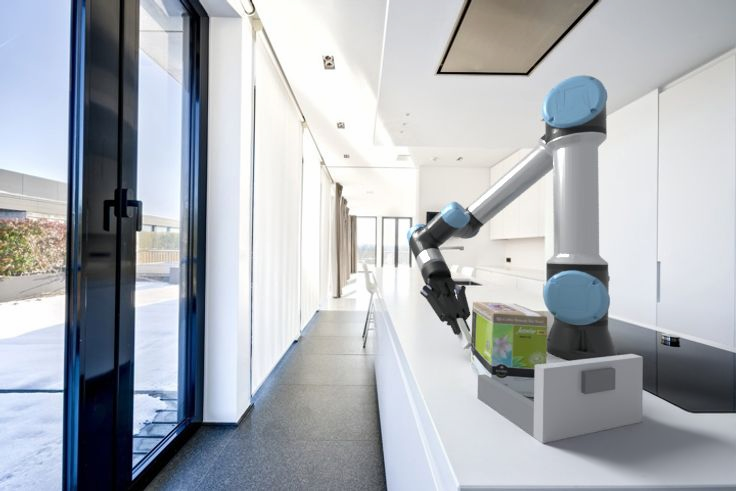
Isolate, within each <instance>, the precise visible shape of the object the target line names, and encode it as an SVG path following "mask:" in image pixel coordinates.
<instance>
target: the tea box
mask: <svg viewBox="0 0 736 491" xmlns="http://www.w3.org/2000/svg"><path fill="white" fill-rule="evenodd" d="M471 314H472V316H471V337H472V339H471V347H470V366H471V367H472V369H473V370H474V372H476V374H477V376H478V375H484V374H485V375H487V376H489V377H491V378H492V379H494V380H496V381H498V382H500V383H501V384H503V385H505V386H507V387H508V388H510V389H512V390H514V391H515V392H517V393H519V394H521V395H523V396H524V397H526V398H534V376H535V365H537V364H546V363H547V352H548V351H547V338H548V315H546V314H544V313H540V312H538V311H535V310H532V309H530V308H527V307H525V306H522V305H519V304H517V303H509V302H507V303H506V302H504V303H503V302H489V301H488V302H487V301H472V313H471Z"/></svg>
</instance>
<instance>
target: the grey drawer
mask: <svg viewBox="0 0 736 491" xmlns="http://www.w3.org/2000/svg"><path fill="white" fill-rule="evenodd" d="M643 362H644V357H643V356H641V355H638V354H635V353H627V354H619V355H618V354H617V356H608V357H599V358H590V359H581V360H566V361H558V362H549V363H547V362H546V364H537V365H535V376H534V397H533V400H531V399H529V397H524V396H523V395H521V394H519V393H517V392H515V391H514V390H512V389H510V388H508V387H507V386H505V385H503V384H501V383H500V382H498V381H496V380H494V379H492V378H491V377H489V376H487V375H485V374H484V375H478V374H477V400H480V401H481V402H483V404H485V405H487V406H488V407H490V408H491V409H492V410H494V411H495V412H497V413H499V415H501V416H503V417H504V418H506V419H507V420H508V421H510V422H512V423H513V424H514V426H515V425H516V426H517V427H518V428H520V429H521V430H523V431H524V432H525V433H527V434H528V435H530V436H531V437H532V438H534V439H535V440H537V441H538V442H539V443H541V444H546V443H551V442H556V441H561V440H563V439H565V440H566V439H569V438H573V437H574V438H575V437H579V436H583V435H589V434H593V433H598V432H602V431H606V430H611V429H616V428H620V427H624V426H630V425H634V424H637V423H642V422H643V391H644V390H643V388H644V386H643V378H644V377H643V374H644V373H643V372H644V371H643V370H644V369H643V368H644V367H643V366H644V363H643Z"/></svg>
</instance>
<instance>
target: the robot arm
mask: <svg viewBox="0 0 736 491" xmlns="http://www.w3.org/2000/svg"><path fill="white" fill-rule="evenodd" d="M607 100H608V92H607V89H606V87H605V86H604V84H603V82H602V81H601V80H599V79H598V78H596V77H594V76H591V75H585V74H583V75H575V76H574V75H573V76H571V77H568V78H566V79H564V80H561V81H560V82H559V83H557V84H556V85H555V86H553V88H551V90H550V91H548V93H547V94H546V95H545V97H544V100H543V103H542V107H541V116H542V118H543V120H544V122H545V124H544V125H545V128H544V129H545V133H544V134H543V136H541V137H540V138H539V139H538V143H537V146H535V147H534V148H533V149H532V150H530V152H529V153H527V154H526V155H525V156H524V157H523V158H522V159H520V161H518V162H517V163H516V164H515V165H514V166H512V167H511V168H510V169H509V170H508V171H507V172H506V173H505V174H503V176H501V177H500V178H499V179H498V180H497V181H496V182H494V183H493V184H492V185H491V186H489V188H488V189H486V190H485V191H484V192H483V193H482V194H480V195H479V196H478V198H476V199H475V200H474V201H473V202H472V203H470V204H469V205H468V207H466V208H464V207H463V206H462V205H461V204H460V203H459V202H457V201H451V202H450V203H448V204H447V205H446V206H444V207H443V208H442V209H441V210H440V211H439V212H438V213H437V214H436V215H435V216H433V218H431V220H430V221H428V222H427V223H426V224H424V223H418V224H415V225H414V226H413V225H412V226H411V227H410V228H409V229H408V230H407V233H406V239H407V242H408V246H409V248H410V250H411V252H412V254H413V257H414V259H415V261H416V264H417V267H418V268H419V272H420V274H421V277H422V279H423V281H424V284H425V285H423V286H422V288H421V290H420V292H419V293H420V294H421V296H422V297H424V298H425V299H426V300H427V302H428V303H429V306H430V307H431V309H432V310H433V311H434V312H435V314H436V315H437V317H438V318H439V321H441V322H442V323H444V322H446V325H447V326H450V327H451V330H452V333H453V334H454V335H455V336H457V338H458V340H459V344H460V345H461V347H462V349H463V350H467V349H471V339H472V334H471V333H470V332H471V329H470V326H469V324H468V321H467V320H468V319H469V318H470V316H471V311H470V307H469V302H468V298H467V296H466V289H467V287H466V285H463V284H462V285H461V286H460V285H458V284H457V283H456V281H455V280H453V277H452V272H451V270H450V268H449V265H448V264H447V263H446V260H445V258H444V256H443V254H442V251H441V250H440V247H441V246H442V245H443V244H445V243H446V242H447V241H448V240H449V239H451V238H459V239H462V240H463V239H465V240H466V239H472V238H474V237H476V236H477V235H478V234H479V232H480V230H481V228H482V227H483V226H484V225H486V224H487V223H488V222H489V221H490V220H492V219H494V217H495V216H497V215H498V214H499V213H500V212H502V211H503V210H504V209H505V208H506V207H508V206H509V205H510V204H512V202H514V201H516V199H518V198H519V197H520V196H522V194H524V193H525V192H526V191H528V190H529V189H531V187H532V186H533V185H535V184H536V183H537V182H538V181H540V180H541V179H542V178H543V177H545V176H546V175H547V174H548V173H549V172H551V171H552V174H553V176H552V177H553V178H552V179H553V180H552V182H553V183H552V184H553V186H552V188H553V189H552V190H553V191H552V192H553V193H552V194H553V195H552V196H553V199H552V200H553V201H552V202H553V203H552V204H553V207H552V210H553V212H552V213H553V254H552V256H551V257H550V258H549V259H548V260H547V261H546V272H545V276H546V280H545V281H546V282H545V284H544V287H543V290H542V291H543V292H542V298H543V301H544V302H543V303H544V305H545V307H546V308H547V310H548V312H550V314H551V315H552V316H553V322H552V323H553V324H552V325H551V328H550V330H549V333H548V335H547V352H548V353H549V354H551V355H553V356H556V357H558V358H561V359H565V360H567V361H572V360H581V359H590V358H599V357H608V356H617V355H618V354H617V350H616V347H615V344H614V341H613V338H612V335H611V332H610V330H609V308H610V304H611V298H610V292H609V287H610V286H609V284H610V280H611V277H610V275H609V262H608V261H606V260H605V259H604V258H603V257H601V255H600V208H599V207H600V204H599V203H600V202H599V201H600V200H599V197H600V196H599V195H600V192H599V147H600V146H601V145H602V144H603V143H604V142H605V141H606V140H607V126H608V125H607V119H608V118H607Z"/></svg>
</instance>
